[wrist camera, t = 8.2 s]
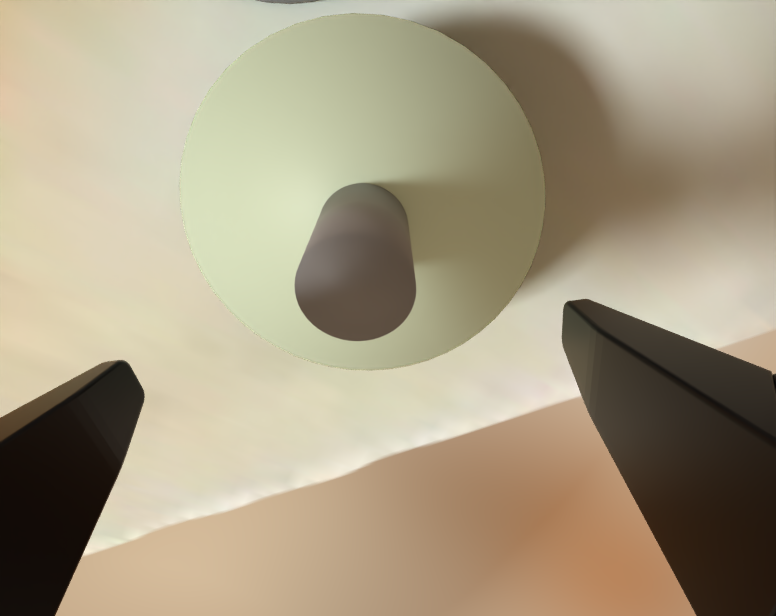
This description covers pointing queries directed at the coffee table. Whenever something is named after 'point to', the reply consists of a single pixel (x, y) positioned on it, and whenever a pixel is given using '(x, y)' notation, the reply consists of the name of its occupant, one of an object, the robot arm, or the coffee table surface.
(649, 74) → the coffee table surface
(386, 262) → the lid
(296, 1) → the mat
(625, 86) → the coffee table surface
